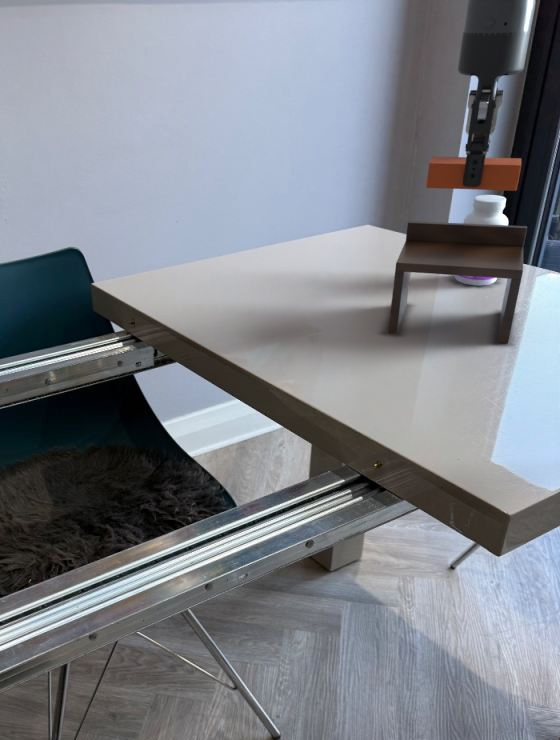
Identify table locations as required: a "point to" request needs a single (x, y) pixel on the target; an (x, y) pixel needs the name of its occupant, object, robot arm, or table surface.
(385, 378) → the table surface
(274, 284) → the table surface
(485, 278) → the supplement bottle
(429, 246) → the shelf
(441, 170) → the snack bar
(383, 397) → the table surface
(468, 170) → the robot arm
